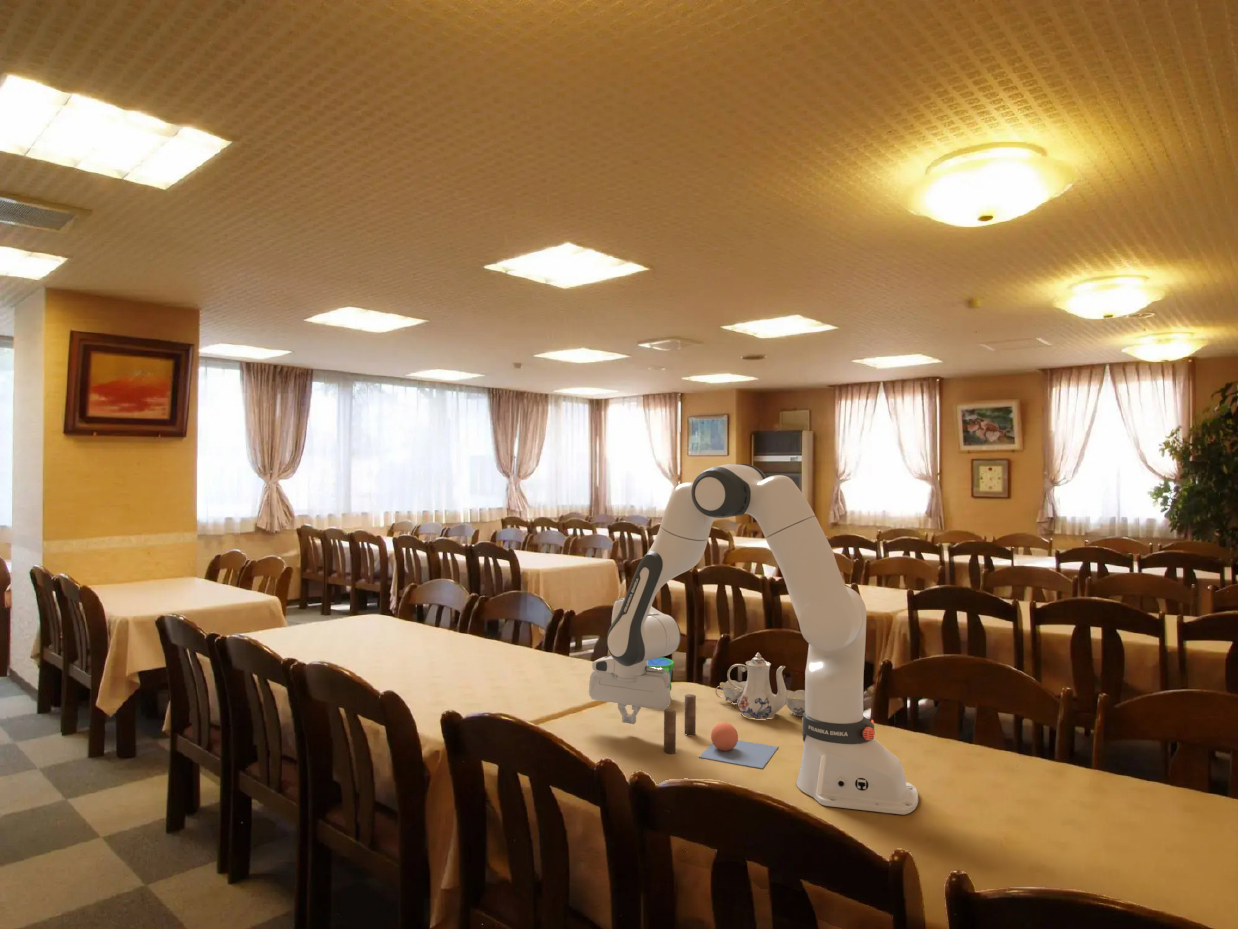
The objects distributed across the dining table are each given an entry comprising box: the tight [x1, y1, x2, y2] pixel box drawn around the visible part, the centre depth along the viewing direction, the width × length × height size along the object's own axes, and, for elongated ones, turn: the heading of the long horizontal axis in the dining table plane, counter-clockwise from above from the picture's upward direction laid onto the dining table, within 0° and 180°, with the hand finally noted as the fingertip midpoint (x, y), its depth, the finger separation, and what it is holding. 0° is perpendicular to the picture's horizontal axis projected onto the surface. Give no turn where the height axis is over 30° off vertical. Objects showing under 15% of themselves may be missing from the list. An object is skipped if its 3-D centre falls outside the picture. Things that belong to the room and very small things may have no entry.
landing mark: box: [698, 739, 779, 770], centre depth 163 cm, size 14×14×1 cm
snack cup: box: [648, 656, 675, 692], centre depth 204 cm, size 16×10×10 cm
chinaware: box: [714, 652, 805, 719], centre depth 192 cm, size 28×17×17 cm, turn 64°
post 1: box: [663, 708, 677, 755], centre depth 163 cm, size 3×3×9 cm
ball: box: [710, 722, 739, 751], centre depth 164 cm, size 6×6×6 cm
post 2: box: [684, 693, 697, 736], centre depth 175 cm, size 3×3×9 cm
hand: (629, 722), depth 174 cm, fingers closed
